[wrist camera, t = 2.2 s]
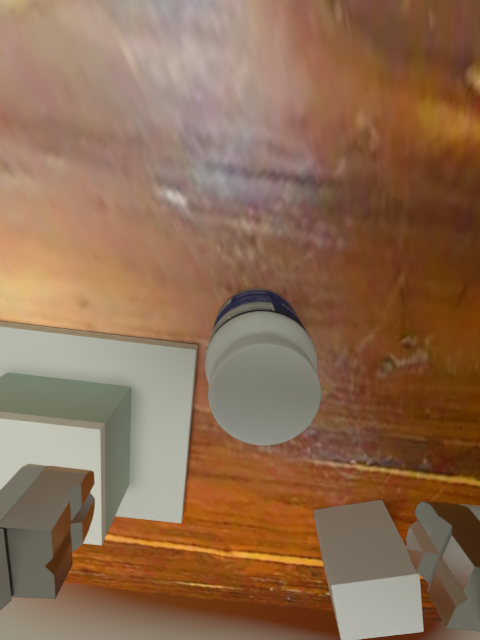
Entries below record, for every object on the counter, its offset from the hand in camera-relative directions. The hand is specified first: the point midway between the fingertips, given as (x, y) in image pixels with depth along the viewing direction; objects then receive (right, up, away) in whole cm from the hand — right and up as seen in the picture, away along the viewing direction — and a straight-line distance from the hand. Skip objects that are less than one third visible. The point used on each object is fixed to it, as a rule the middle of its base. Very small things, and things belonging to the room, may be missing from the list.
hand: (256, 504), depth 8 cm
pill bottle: (+1, +4, +15) cm, 15 cm away
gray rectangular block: (+10, -14, +20) cm, 26 cm away
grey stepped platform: (-13, -4, +17) cm, 22 cm away
